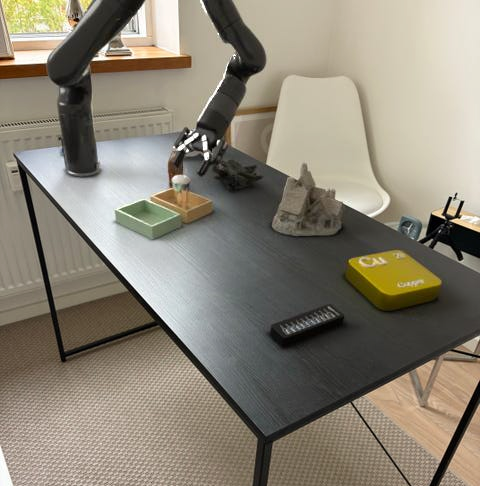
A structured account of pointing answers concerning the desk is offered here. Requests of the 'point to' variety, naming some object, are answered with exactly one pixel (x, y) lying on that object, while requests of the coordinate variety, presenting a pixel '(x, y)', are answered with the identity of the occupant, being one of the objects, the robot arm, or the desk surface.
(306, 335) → the multiport hub
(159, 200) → the bin right
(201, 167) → the robot arm
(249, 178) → the mineral specimen
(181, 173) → the tin
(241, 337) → the desk surface
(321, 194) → the ceramic cottage
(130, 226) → the bin left
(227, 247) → the desk surface
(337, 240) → the desk surface
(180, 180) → the milkshake
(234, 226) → the desk surface
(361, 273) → the element tile
